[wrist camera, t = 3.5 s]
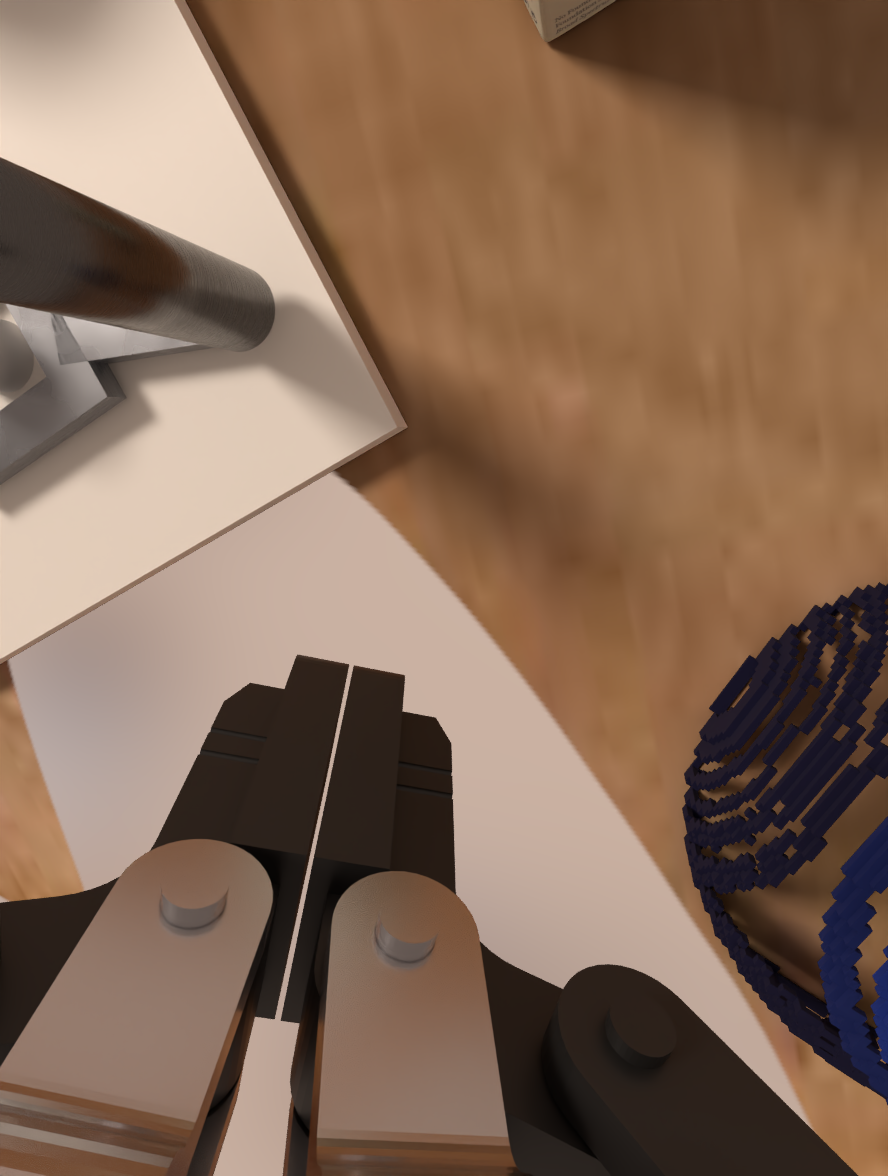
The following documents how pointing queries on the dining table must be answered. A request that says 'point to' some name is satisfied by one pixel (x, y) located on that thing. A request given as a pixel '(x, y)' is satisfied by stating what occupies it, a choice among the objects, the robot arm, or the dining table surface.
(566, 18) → the skincare box
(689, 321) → the dining table surface
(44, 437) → the grey angle bracket
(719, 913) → the decorative bowl
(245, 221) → the post base
